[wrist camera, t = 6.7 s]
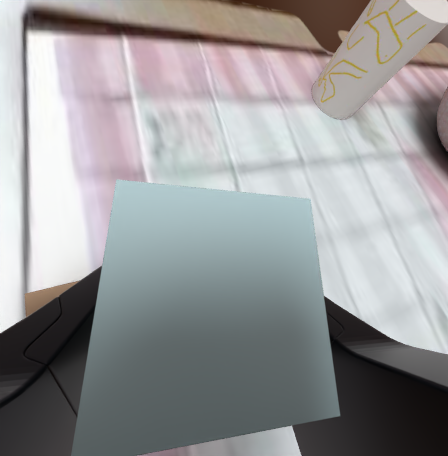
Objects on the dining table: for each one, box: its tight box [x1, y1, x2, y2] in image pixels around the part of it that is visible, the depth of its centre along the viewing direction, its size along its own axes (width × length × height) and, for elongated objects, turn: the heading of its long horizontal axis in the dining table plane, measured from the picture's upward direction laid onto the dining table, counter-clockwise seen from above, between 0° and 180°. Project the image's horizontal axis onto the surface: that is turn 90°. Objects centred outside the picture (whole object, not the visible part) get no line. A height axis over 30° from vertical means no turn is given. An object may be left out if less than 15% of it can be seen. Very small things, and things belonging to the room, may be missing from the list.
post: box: [71, 180, 340, 456], centre depth 9 cm, size 4×4×13 cm
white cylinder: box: [312, 0, 448, 120], centre depth 25 cm, size 8×8×12 cm
